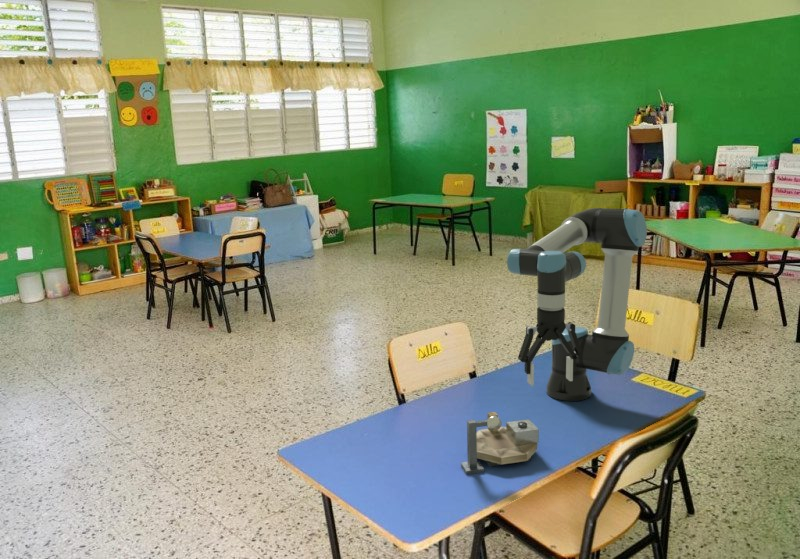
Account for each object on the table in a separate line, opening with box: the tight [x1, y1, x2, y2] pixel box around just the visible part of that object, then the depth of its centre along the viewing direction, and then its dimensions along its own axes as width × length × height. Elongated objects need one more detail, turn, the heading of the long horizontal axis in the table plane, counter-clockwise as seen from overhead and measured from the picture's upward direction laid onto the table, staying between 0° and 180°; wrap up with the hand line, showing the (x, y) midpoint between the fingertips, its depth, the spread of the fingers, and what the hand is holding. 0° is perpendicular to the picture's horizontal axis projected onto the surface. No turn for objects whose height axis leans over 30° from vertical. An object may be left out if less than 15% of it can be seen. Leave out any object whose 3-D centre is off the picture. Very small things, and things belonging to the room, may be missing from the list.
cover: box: [505, 419, 540, 446], centre depth 191 cm, size 7×7×5 cm
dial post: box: [460, 416, 502, 475], centre depth 182 cm, size 10×5×15 cm, turn 102°
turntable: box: [477, 411, 538, 465], centre depth 190 cm, size 18×18×7 cm
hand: (550, 381), depth 190 cm, fingers open, 11 cm apart
